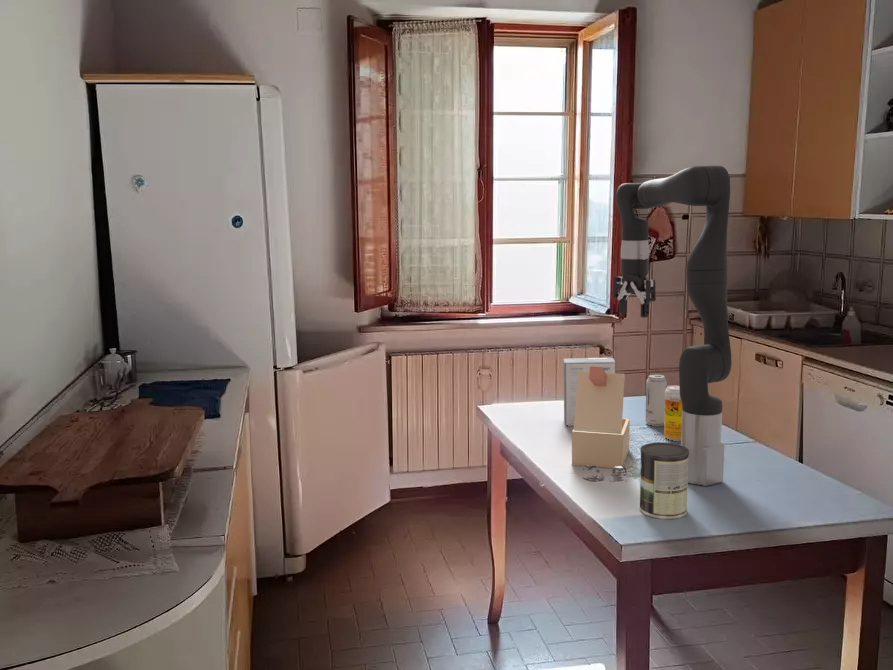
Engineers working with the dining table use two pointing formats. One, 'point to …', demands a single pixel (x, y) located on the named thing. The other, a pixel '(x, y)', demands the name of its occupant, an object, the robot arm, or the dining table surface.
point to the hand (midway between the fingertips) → (633, 315)
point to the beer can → (673, 413)
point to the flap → (599, 401)
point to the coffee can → (664, 480)
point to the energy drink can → (655, 400)
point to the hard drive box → (570, 380)
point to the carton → (601, 447)
